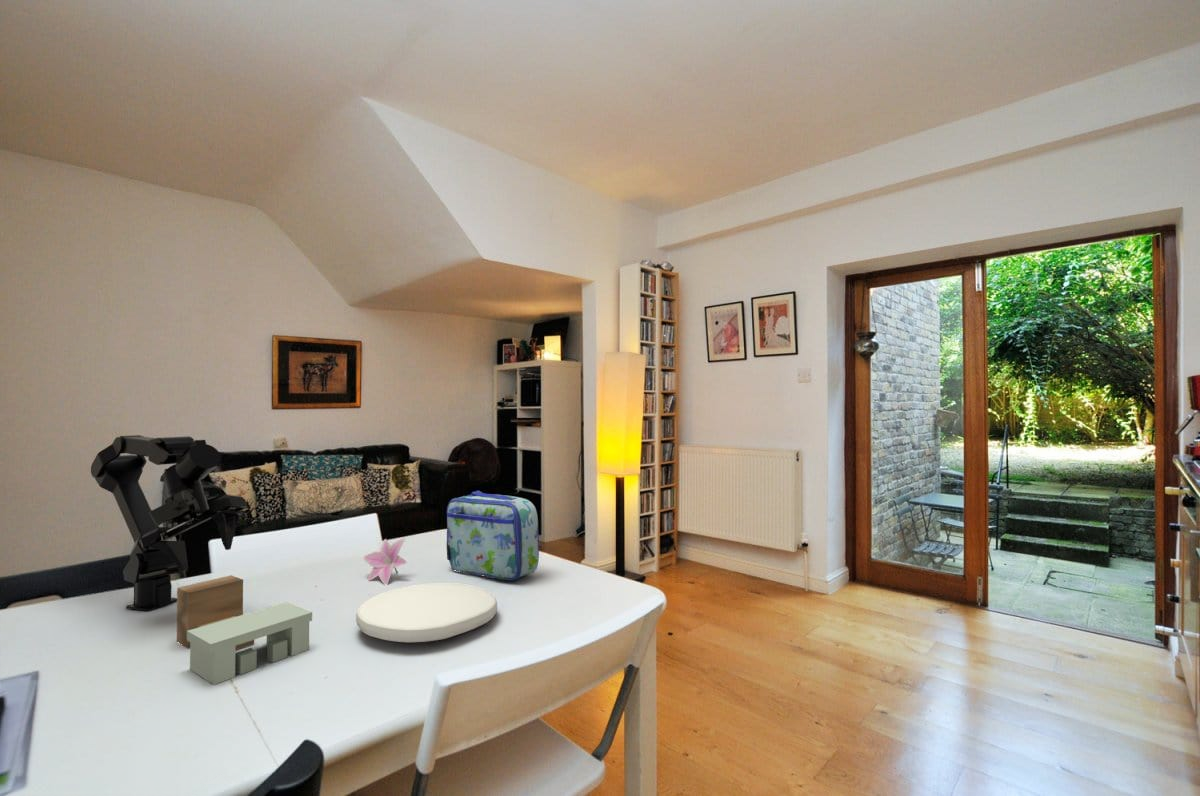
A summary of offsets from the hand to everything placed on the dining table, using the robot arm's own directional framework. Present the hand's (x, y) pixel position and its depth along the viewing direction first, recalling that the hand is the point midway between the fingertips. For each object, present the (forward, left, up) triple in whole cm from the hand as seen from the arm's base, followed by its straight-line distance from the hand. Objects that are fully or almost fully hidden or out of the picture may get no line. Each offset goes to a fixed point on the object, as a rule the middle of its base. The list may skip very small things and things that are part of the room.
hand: (206, 560), depth 111 cm
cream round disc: (+44, +11, -13) cm, 47 cm away
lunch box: (+42, +44, -13) cm, 62 cm away
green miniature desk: (+22, -11, -12) cm, 28 cm away
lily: (+18, +34, -13) cm, 40 cm away
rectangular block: (+11, -6, -13) cm, 18 cm away
